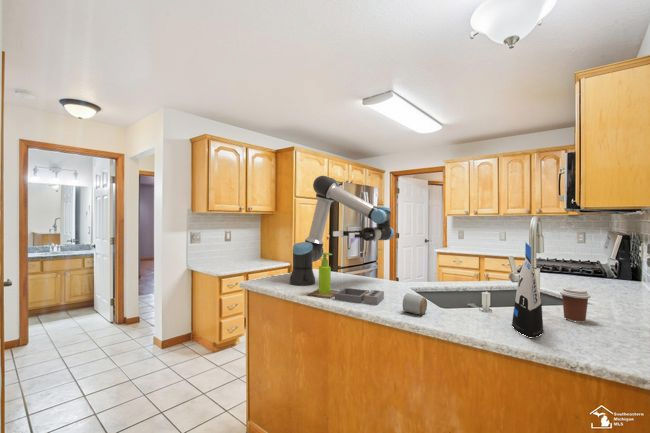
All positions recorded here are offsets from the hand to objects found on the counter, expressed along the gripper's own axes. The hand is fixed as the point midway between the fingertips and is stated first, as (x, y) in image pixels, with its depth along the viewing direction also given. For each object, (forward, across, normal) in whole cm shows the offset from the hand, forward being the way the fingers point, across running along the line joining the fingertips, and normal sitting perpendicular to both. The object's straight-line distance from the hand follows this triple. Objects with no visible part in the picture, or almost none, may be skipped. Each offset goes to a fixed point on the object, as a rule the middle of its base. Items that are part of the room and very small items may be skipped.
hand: (340, 234), depth 159 cm
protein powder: (-26, -78, -29) cm, 87 cm away
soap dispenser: (+10, -1, -29) cm, 31 cm away
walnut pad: (+10, 0, -30) cm, 32 cm away
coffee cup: (-50, -84, -28) cm, 102 cm away
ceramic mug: (-6, -44, -29) cm, 53 cm away
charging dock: (0, -16, -30) cm, 34 cm away
